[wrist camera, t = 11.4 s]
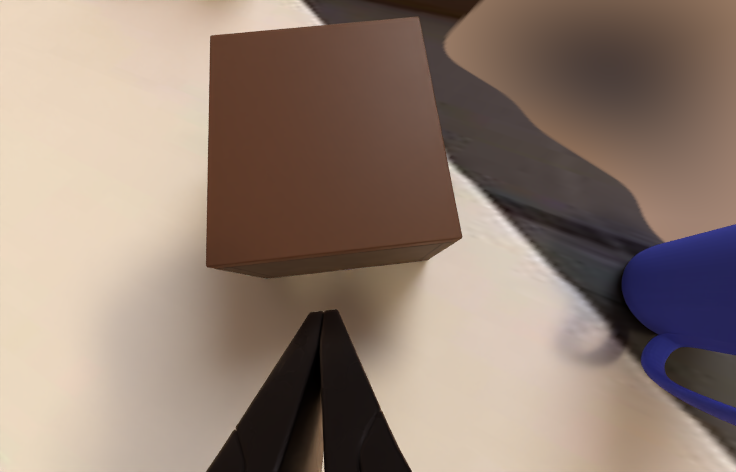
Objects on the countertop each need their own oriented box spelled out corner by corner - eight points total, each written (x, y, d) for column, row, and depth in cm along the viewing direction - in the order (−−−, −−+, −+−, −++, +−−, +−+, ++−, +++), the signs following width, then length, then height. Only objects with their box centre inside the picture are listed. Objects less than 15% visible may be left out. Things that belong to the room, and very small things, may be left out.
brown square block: (216, 46, 17) (209, 34, 16) (416, 28, 17) (419, 15, 17) (214, 269, 14) (205, 267, 13) (458, 241, 14) (463, 238, 13)
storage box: (261, 128, 24) (216, 57, 17) (404, 114, 24) (418, 38, 17) (266, 278, 21) (214, 269, 14) (428, 260, 21) (457, 241, 14)
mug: (559, 344, 20) (742, 390, 10) (632, 219, 22) (843, 157, 12) (664, 422, 19) (983, 557, 9) (731, 282, 21) (1049, 269, 11)
